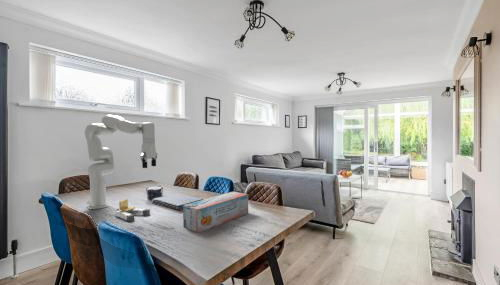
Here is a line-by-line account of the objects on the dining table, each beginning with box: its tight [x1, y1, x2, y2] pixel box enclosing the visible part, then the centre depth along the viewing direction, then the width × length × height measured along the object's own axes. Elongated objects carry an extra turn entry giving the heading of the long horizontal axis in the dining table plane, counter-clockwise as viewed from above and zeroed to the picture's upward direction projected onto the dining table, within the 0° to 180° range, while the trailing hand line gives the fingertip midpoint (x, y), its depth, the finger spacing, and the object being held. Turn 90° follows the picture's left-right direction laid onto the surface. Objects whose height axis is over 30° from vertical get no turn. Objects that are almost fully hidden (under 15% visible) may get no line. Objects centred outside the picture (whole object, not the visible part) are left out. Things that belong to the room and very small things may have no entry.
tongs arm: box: [115, 208, 135, 222], centre depth 152 cm, size 22×5×3 cm, turn 52°
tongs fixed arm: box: [124, 208, 151, 217], centre depth 158 cm, size 18×3×3 cm, turn 77°
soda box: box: [182, 191, 249, 233], centre depth 146 cm, size 41×14×13 cm, turn 140°
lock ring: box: [118, 198, 136, 211], centre depth 157 cm, size 6×7×6 cm
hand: (149, 167), depth 163 cm, fingers open, 9 cm apart
